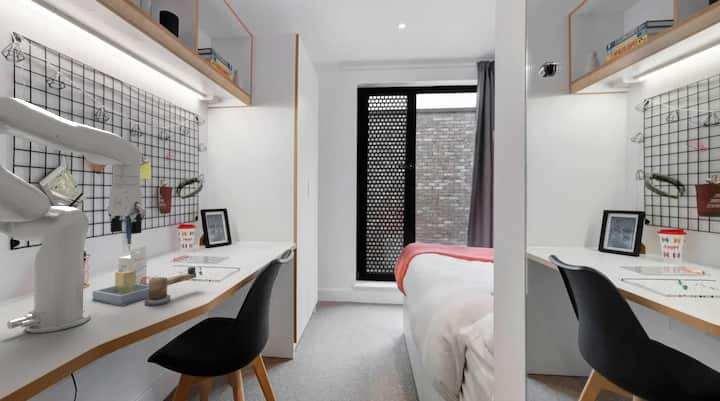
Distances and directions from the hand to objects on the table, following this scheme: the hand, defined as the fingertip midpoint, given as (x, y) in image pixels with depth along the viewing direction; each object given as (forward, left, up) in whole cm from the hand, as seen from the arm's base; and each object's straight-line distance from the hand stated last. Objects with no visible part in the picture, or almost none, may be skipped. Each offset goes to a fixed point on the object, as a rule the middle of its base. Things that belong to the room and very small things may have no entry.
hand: (125, 232), depth 106 cm
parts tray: (0, 0, -22) cm, 22 cm away
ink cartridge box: (+10, +11, -22) cm, 27 cm away
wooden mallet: (+7, -14, -20) cm, 26 cm away
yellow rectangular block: (0, 0, -21) cm, 21 cm away
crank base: (+4, -7, -22) cm, 24 cm away
